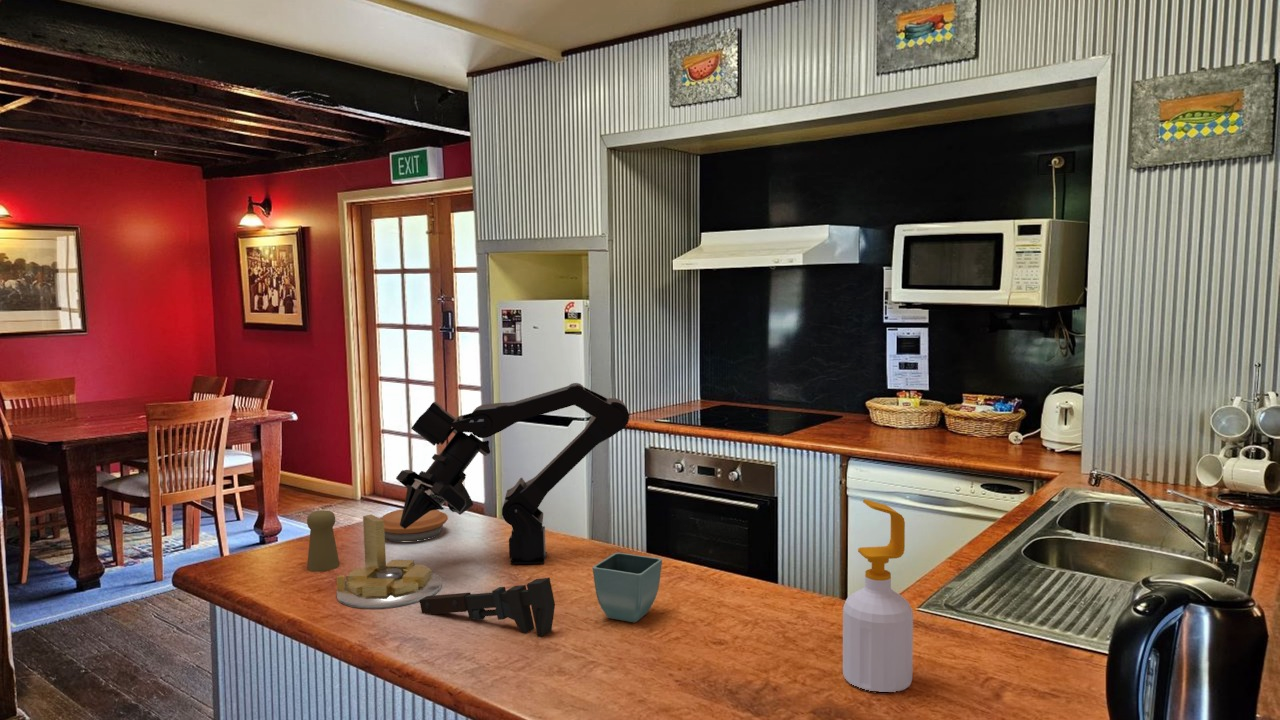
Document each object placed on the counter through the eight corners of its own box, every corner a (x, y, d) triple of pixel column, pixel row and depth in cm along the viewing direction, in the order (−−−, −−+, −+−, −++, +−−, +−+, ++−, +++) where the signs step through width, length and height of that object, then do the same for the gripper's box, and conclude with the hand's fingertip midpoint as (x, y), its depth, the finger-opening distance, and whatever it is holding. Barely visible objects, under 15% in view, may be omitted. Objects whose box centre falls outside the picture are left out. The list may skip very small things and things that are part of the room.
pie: (457, 525, 197) (456, 504, 197) (435, 546, 182) (434, 523, 181) (392, 525, 199) (391, 503, 198) (364, 545, 183) (363, 522, 183)
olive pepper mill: (345, 561, 172) (342, 507, 171) (331, 571, 166) (328, 515, 165) (315, 561, 172) (313, 507, 172) (301, 571, 166) (298, 515, 166)
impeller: (450, 572, 164) (450, 555, 164) (428, 608, 146) (427, 589, 146) (356, 574, 164) (355, 557, 164) (321, 609, 146) (320, 590, 146)
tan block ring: (443, 582, 154) (441, 525, 153) (367, 602, 145) (365, 541, 144) (404, 562, 166) (402, 508, 165) (332, 578, 157) (329, 522, 156)
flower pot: (664, 610, 144) (663, 557, 143) (641, 630, 136) (640, 574, 135) (616, 603, 147) (615, 551, 146) (592, 621, 139) (591, 567, 138)
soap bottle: (834, 666, 122) (834, 494, 119) (897, 663, 122) (898, 492, 120) (855, 696, 113) (856, 511, 111) (923, 692, 113) (925, 509, 111)
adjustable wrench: (437, 637, 146) (560, 630, 135) (426, 643, 144) (551, 636, 133) (427, 588, 146) (549, 577, 135) (416, 593, 144) (540, 583, 133)
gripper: (505, 492, 164) (455, 562, 158) (457, 477, 178) (409, 540, 172) (467, 457, 158) (413, 528, 152) (421, 444, 173) (370, 508, 167)
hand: (402, 527), depth 161 cm, fingers closed
